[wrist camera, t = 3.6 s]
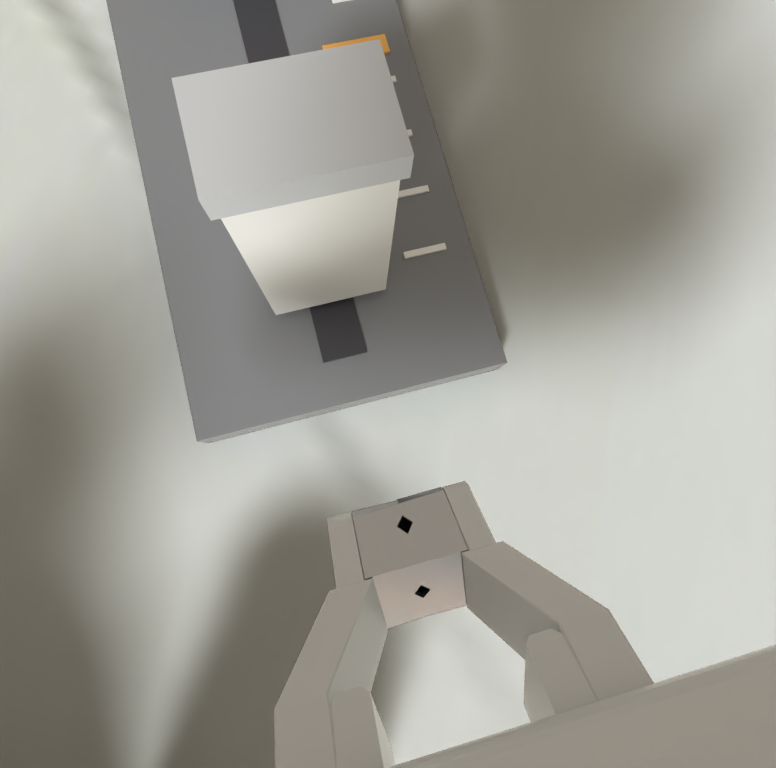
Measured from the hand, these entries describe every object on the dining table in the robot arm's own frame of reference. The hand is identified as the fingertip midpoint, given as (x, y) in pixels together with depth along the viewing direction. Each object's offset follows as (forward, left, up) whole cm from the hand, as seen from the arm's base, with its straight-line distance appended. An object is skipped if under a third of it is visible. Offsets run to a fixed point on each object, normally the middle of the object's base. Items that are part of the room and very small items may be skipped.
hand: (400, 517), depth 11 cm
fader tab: (-9, +5, -10) cm, 14 cm away
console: (-14, +8, -12) cm, 20 cm away
